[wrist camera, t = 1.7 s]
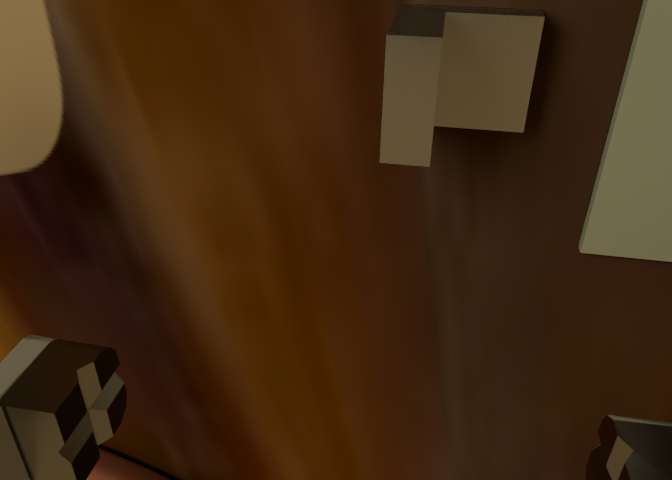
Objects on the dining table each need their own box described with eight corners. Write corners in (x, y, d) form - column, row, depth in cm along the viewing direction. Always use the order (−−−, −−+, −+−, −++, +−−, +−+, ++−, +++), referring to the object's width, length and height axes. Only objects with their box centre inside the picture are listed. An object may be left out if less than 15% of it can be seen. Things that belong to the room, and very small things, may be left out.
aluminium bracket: (400, 3, 27) (386, 34, 22) (540, 9, 26) (559, 43, 21) (393, 112, 29) (379, 162, 24) (520, 120, 28) (533, 175, 23)
